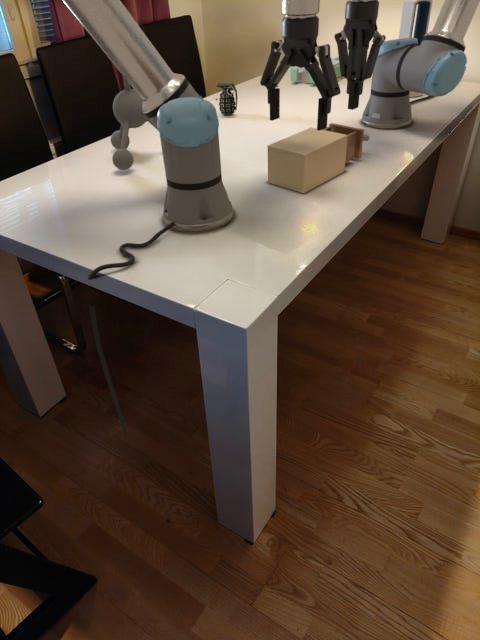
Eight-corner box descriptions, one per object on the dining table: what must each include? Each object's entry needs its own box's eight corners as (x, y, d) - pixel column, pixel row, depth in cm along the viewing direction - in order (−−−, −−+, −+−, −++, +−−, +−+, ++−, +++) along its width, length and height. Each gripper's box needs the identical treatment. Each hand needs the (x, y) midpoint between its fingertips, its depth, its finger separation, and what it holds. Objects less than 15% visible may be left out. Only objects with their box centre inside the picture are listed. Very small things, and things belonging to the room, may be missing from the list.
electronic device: (393, 99, 175) (406, 0, 157) (383, 94, 181) (394, -2, 162) (424, 95, 177) (441, -3, 159) (413, 90, 183) (428, -5, 165)
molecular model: (196, 161, 135) (182, 37, 116) (116, 176, 129) (90, 48, 110) (173, 138, 152) (159, 27, 134) (102, 149, 146) (77, 35, 128)
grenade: (217, 117, 168) (214, 86, 162) (221, 112, 172) (219, 82, 166) (235, 117, 166) (233, 86, 160) (239, 113, 171) (238, 82, 165)
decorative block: (312, 54, 215) (354, 57, 206) (311, 70, 219) (352, 74, 210) (281, 65, 199) (325, 69, 190) (281, 83, 203) (324, 87, 194)
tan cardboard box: (309, 162, 131) (310, 127, 125) (344, 171, 124) (347, 134, 119) (267, 182, 121) (267, 145, 116) (303, 193, 115) (305, 155, 109)
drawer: (342, 144, 138) (344, 117, 134) (373, 151, 132) (376, 123, 128) (294, 167, 126) (294, 139, 121) (325, 176, 120) (327, 146, 116)
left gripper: (364, 16, 94) (353, 129, 107) (265, 11, 108) (266, 111, 121) (342, 21, 90) (333, 138, 103) (243, 15, 104) (246, 118, 117)
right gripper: (396, -2, 110) (382, 108, 125) (347, -3, 117) (339, 101, 132) (379, 2, 106) (367, 115, 120) (329, 0, 113) (323, 107, 128)
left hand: (297, 124), depth 112 cm, fingers open, 13 cm apart
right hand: (353, 108), depth 126 cm, fingers closed
